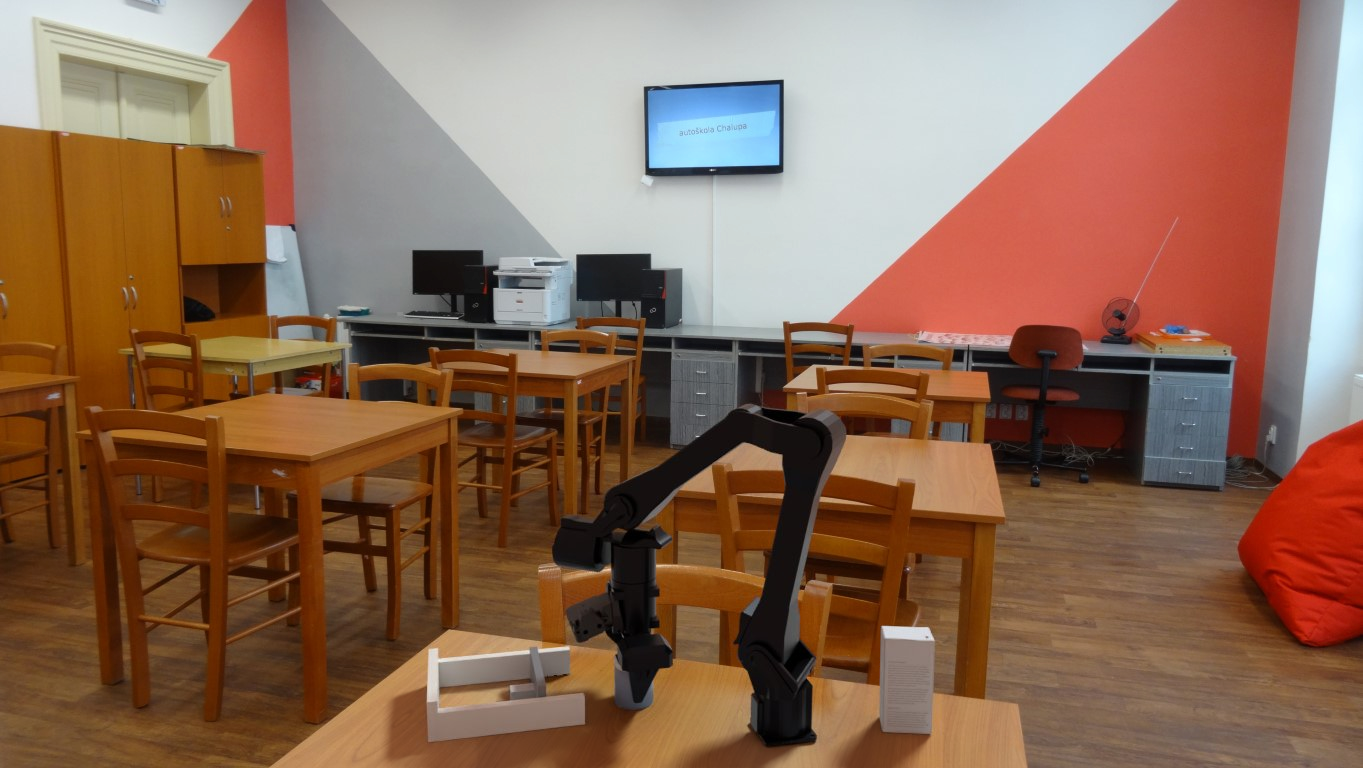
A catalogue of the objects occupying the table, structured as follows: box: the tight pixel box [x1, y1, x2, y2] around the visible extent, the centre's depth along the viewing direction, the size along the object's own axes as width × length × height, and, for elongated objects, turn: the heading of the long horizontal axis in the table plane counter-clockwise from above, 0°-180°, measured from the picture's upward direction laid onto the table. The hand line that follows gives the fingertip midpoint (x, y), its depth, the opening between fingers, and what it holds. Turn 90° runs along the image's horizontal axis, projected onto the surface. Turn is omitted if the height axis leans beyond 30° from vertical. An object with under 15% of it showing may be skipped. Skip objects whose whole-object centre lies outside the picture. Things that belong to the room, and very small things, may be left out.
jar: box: [613, 655, 654, 711], centre depth 123 cm, size 5×5×6 cm
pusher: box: [509, 645, 547, 701], centre depth 122 cm, size 4×12×4 cm, turn 14°
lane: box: [426, 645, 586, 743], centre depth 122 cm, size 19×15×5 cm
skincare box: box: [878, 625, 936, 735], centre depth 116 cm, size 6×4×12 cm
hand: (633, 692), depth 123 cm, fingers closed on jar, 5 cm apart
